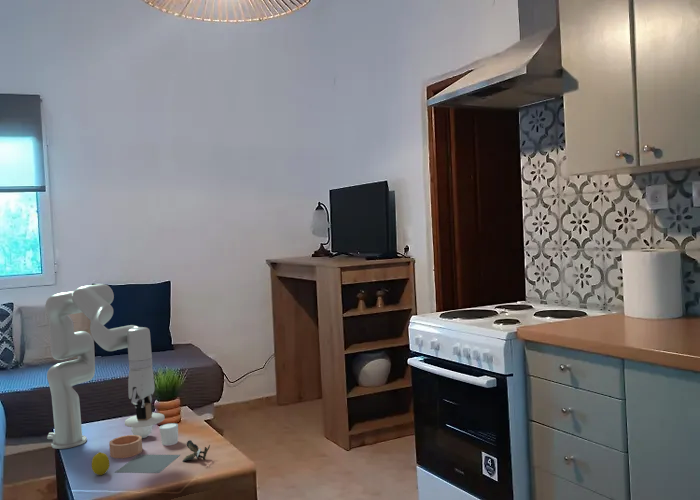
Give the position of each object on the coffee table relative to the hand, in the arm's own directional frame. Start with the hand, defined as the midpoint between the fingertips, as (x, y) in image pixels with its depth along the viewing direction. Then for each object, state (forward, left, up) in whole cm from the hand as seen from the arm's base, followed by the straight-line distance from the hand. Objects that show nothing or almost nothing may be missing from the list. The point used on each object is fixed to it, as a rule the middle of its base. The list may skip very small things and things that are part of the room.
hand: (144, 416), depth 218 cm
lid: (0, 0, -2) cm, 2 cm away
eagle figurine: (+15, +4, -17) cm, 23 cm away
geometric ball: (-17, +27, -17) cm, 36 cm away
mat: (0, 0, -17) cm, 17 cm away
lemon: (-12, -10, -17) cm, 23 cm away
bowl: (-14, +10, -17) cm, 24 cm away
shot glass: (-2, +20, -17) cm, 26 cm away
